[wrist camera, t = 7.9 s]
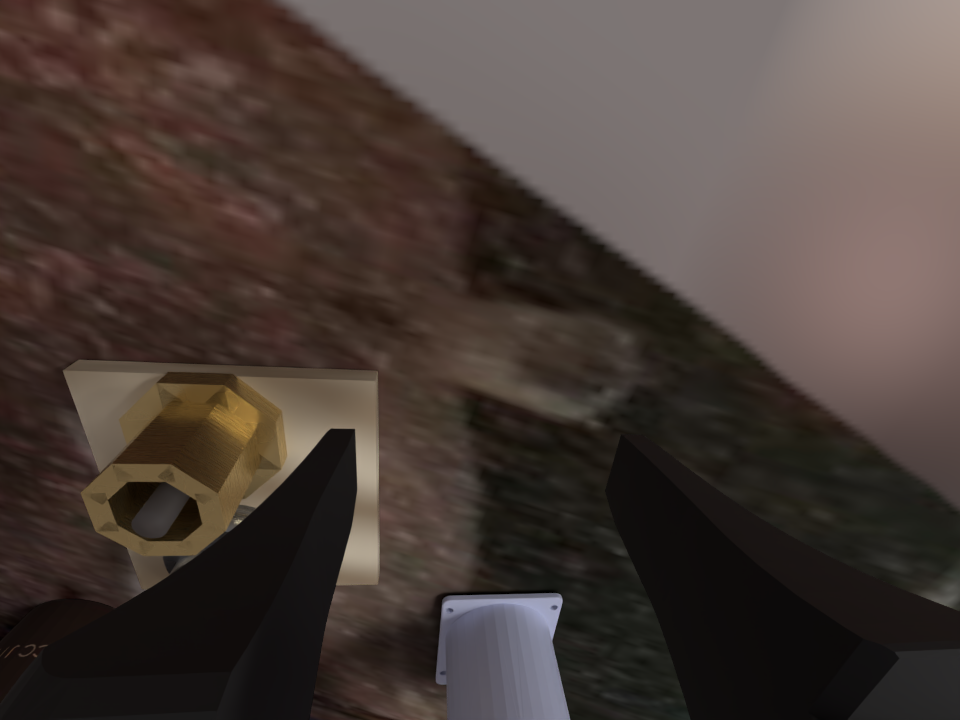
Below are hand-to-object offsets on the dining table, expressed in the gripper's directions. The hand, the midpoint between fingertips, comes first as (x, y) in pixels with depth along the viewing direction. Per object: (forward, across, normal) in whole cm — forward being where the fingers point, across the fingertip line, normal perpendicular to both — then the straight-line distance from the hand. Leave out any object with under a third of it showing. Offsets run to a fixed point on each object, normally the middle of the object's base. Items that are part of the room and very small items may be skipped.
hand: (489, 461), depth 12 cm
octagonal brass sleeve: (+9, +12, +6) cm, 16 cm away
